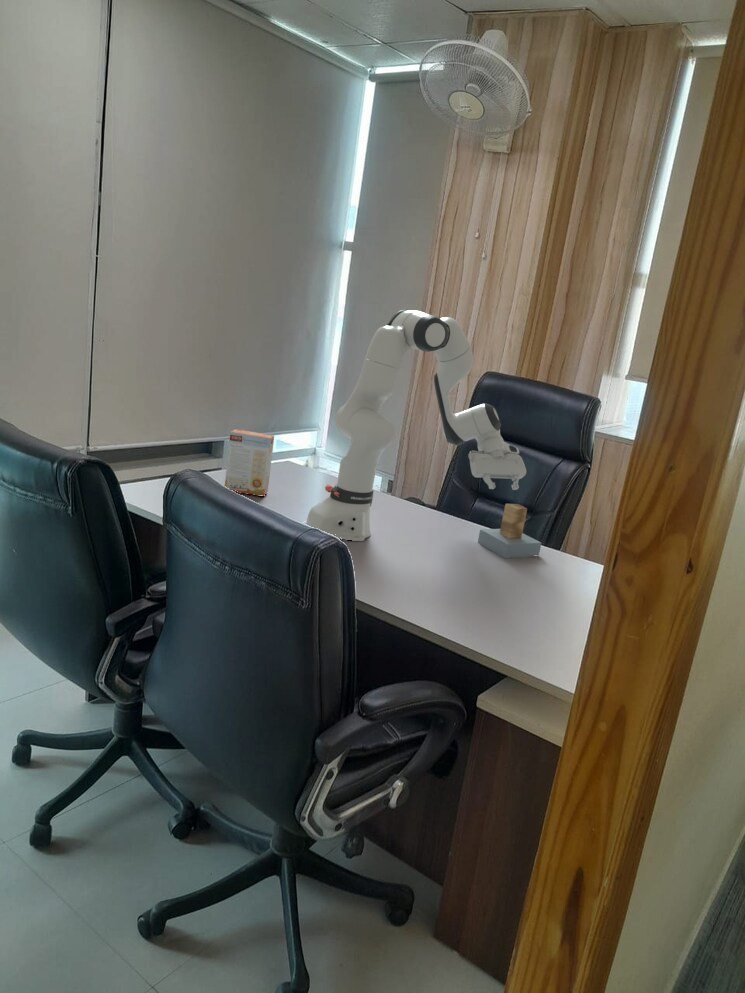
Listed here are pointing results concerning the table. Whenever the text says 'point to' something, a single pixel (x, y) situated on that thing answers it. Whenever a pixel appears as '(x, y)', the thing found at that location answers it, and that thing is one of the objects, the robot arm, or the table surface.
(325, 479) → the table surface
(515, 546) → the grey base block
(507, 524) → the oak block
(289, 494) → the table surface
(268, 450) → the cracker box
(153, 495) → the table surface
